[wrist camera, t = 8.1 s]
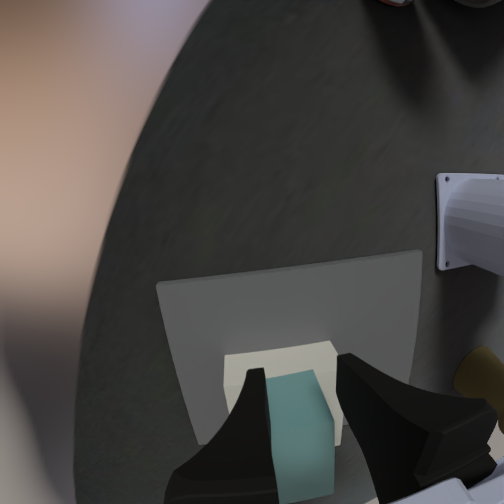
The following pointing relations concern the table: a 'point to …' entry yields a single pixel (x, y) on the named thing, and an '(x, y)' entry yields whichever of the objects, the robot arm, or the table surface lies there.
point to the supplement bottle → (397, 2)
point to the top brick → (301, 437)
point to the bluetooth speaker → (478, 3)
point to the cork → (482, 379)
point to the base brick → (287, 372)
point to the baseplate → (289, 321)
